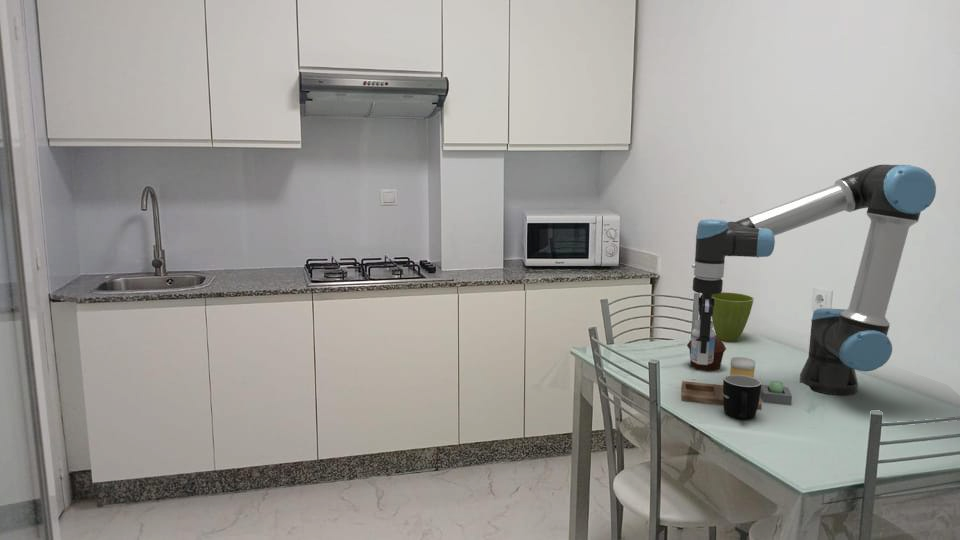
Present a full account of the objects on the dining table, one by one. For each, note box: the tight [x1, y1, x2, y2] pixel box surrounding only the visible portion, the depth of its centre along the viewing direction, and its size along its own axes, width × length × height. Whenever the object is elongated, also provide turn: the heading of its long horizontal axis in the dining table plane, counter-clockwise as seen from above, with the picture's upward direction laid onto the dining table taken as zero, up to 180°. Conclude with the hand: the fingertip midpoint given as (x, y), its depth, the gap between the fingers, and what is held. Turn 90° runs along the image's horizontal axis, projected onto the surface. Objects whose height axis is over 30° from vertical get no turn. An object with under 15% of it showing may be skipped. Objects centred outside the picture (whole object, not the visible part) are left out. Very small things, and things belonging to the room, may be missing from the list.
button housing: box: [760, 384, 793, 406], centre depth 178 cm, size 7×7×4 cm
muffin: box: [686, 336, 727, 372], centre depth 207 cm, size 12×11×10 cm
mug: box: [722, 374, 762, 421], centre depth 166 cm, size 12×9×10 cm
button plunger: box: [769, 380, 785, 393], centre depth 178 cm, size 3×3×4 cm
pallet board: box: [680, 380, 763, 411], centre depth 179 cm, size 20×12×2 cm, turn 73°
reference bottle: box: [729, 356, 756, 378], centre depth 177 cm, size 6×6×11 cm
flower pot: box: [711, 291, 754, 343], centre depth 238 cm, size 15×15×16 cm
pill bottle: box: [689, 319, 716, 364], centre depth 178 cm, size 6×6×11 cm
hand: (701, 360), depth 179 cm, fingers closed on pill bottle, 6 cm apart
